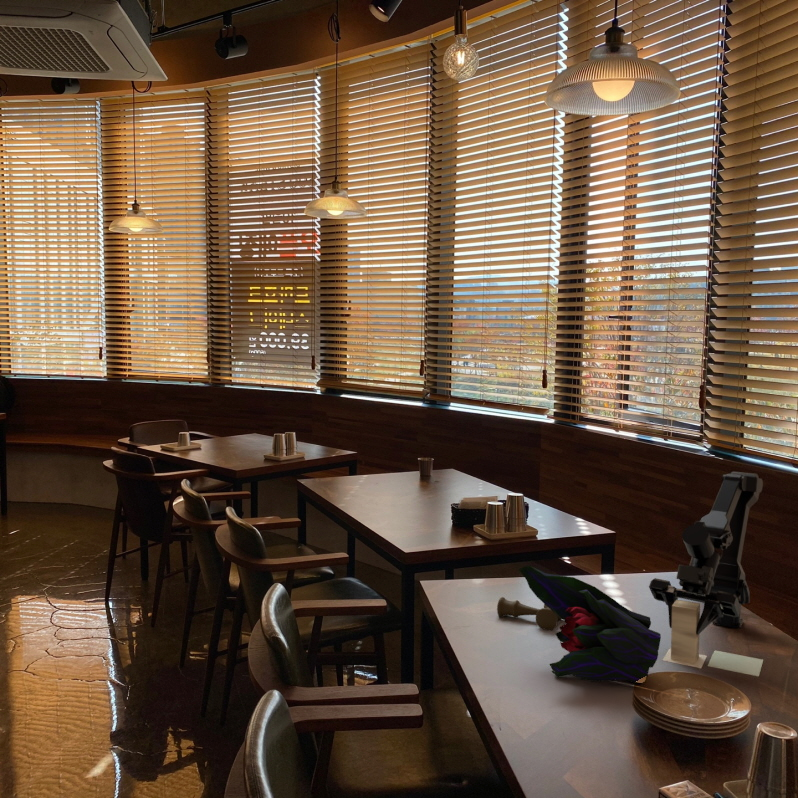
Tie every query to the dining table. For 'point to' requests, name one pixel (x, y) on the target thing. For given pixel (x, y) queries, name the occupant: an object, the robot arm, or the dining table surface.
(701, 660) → the tile
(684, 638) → the maple block
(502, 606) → the kendama
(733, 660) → the green mat
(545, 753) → the dining table surface
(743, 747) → the dining table surface
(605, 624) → the decorative plant
